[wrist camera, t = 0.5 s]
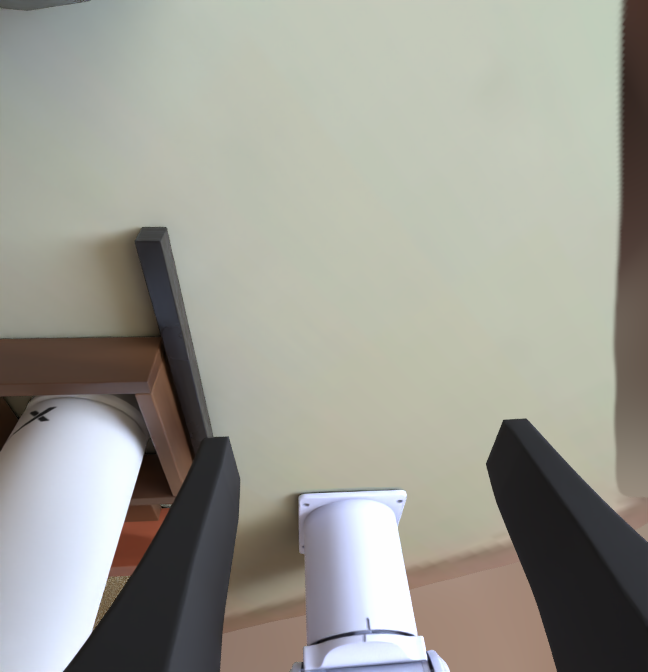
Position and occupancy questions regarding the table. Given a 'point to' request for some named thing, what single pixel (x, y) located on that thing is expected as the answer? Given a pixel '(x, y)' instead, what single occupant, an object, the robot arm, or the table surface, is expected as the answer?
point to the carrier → (111, 378)
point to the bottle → (35, 3)
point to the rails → (174, 328)
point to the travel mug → (62, 521)
